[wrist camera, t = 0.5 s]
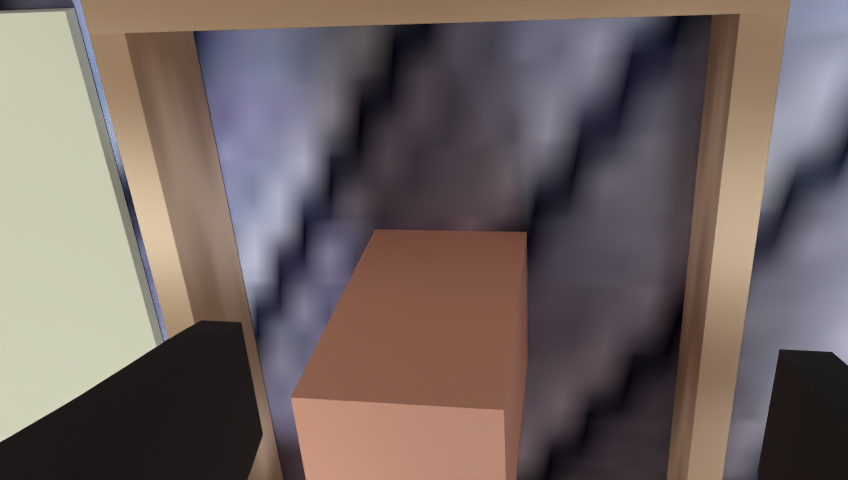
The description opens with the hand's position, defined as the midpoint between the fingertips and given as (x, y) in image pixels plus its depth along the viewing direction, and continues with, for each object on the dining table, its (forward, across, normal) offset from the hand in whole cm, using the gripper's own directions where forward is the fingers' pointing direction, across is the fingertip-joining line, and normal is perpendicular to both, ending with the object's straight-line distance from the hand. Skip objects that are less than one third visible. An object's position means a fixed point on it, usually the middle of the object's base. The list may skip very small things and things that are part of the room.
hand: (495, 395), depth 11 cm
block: (+10, +2, +4) cm, 11 cm away
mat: (+10, +15, +4) cm, 18 cm away
